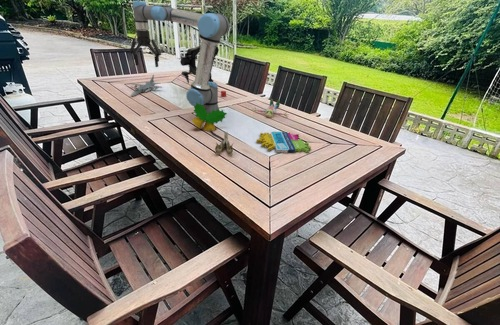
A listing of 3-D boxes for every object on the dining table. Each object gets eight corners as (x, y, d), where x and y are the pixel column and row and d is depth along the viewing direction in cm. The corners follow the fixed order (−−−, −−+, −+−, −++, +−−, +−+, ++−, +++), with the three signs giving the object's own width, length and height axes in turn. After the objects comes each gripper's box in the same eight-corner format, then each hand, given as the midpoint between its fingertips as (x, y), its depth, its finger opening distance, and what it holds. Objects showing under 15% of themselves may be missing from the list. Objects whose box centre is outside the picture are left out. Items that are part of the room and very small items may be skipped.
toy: (292, 100, 208) (288, 110, 182) (291, 109, 211) (287, 120, 186) (258, 96, 213) (250, 105, 187) (258, 105, 216) (249, 115, 190)
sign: (313, 150, 142) (258, 149, 139) (312, 153, 143) (258, 152, 140) (301, 132, 164) (254, 130, 161) (301, 134, 165) (254, 133, 162)
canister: (226, 96, 232) (227, 91, 230) (224, 97, 229) (224, 92, 227) (222, 95, 234) (222, 90, 232) (220, 96, 231) (220, 91, 228)
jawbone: (234, 135, 144) (233, 125, 135) (233, 160, 138) (232, 151, 129) (217, 135, 144) (216, 125, 135) (216, 160, 138) (214, 150, 129)
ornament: (218, 133, 171) (224, 110, 169) (221, 134, 163) (227, 111, 161) (186, 125, 162) (192, 101, 160) (189, 126, 155) (195, 101, 153)
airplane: (124, 86, 239) (122, 75, 233) (160, 84, 252) (158, 73, 247) (129, 98, 210) (126, 86, 205) (168, 95, 223) (167, 83, 218)
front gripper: (164, 31, 165) (167, 66, 175) (126, 28, 166) (131, 63, 177) (159, 31, 158) (163, 68, 168) (120, 28, 160) (126, 65, 170)
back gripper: (186, 66, 216) (187, 86, 224) (206, 65, 226) (206, 84, 234) (180, 64, 224) (182, 83, 232) (200, 63, 234) (201, 81, 241)
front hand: (147, 66), depth 173 cm, fingers open, 13 cm apart
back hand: (193, 82), depth 234 cm, fingers open, 9 cm apart
